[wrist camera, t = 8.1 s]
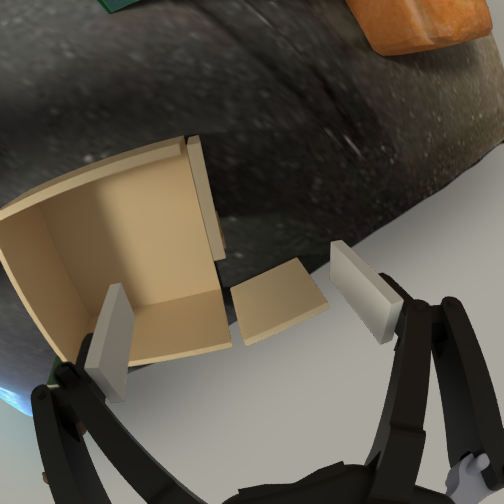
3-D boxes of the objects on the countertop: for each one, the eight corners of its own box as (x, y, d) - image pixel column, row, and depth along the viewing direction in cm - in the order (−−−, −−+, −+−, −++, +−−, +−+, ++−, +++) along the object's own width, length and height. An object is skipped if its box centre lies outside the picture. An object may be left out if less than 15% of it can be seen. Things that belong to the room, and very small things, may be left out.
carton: (89, 320, 34) (72, 372, 26) (30, 189, 25) (-17, 220, 16) (221, 291, 36) (232, 346, 28) (183, 135, 27) (178, 143, 18)
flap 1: (207, 219, 31) (213, 260, 23) (188, 137, 27) (186, 145, 18) (218, 216, 31) (228, 257, 23) (200, 134, 27) (203, 141, 18)
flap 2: (230, 288, 36) (242, 340, 28) (296, 257, 36) (327, 301, 27) (234, 294, 37) (247, 347, 28) (299, 264, 36) (329, 309, 28)
